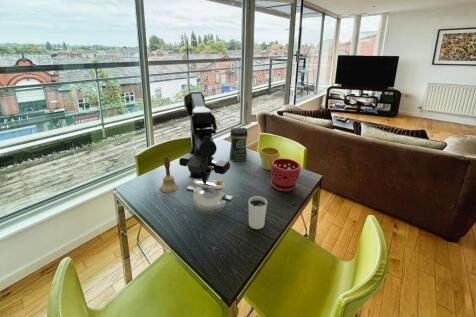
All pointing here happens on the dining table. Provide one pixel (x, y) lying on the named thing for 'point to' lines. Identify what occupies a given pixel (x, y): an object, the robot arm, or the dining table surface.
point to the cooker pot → (209, 199)
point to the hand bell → (168, 179)
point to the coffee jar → (238, 144)
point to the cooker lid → (210, 184)
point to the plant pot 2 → (284, 174)
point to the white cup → (257, 212)
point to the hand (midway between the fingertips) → (205, 183)
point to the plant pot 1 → (268, 156)
